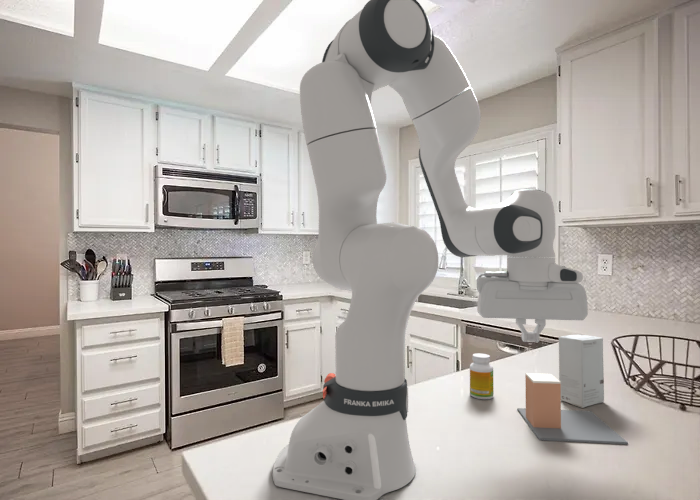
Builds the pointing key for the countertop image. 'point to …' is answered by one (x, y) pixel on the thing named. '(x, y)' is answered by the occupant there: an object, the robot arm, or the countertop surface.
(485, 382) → the supplement bottle
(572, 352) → the skincare box
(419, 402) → the countertop surface
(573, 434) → the mat
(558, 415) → the block
